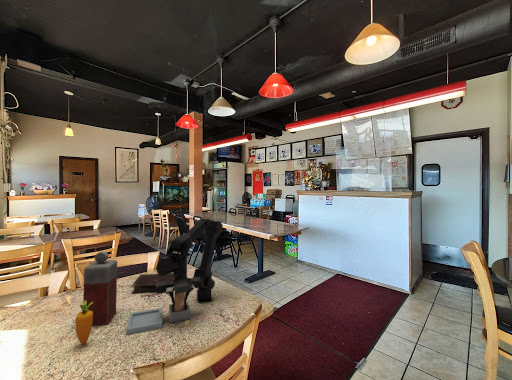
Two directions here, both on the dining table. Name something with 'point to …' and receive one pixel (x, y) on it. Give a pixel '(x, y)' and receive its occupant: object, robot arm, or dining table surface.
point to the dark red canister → (101, 288)
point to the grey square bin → (179, 314)
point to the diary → (150, 282)
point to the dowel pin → (179, 301)
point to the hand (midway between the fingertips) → (179, 304)
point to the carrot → (84, 323)
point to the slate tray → (144, 321)
